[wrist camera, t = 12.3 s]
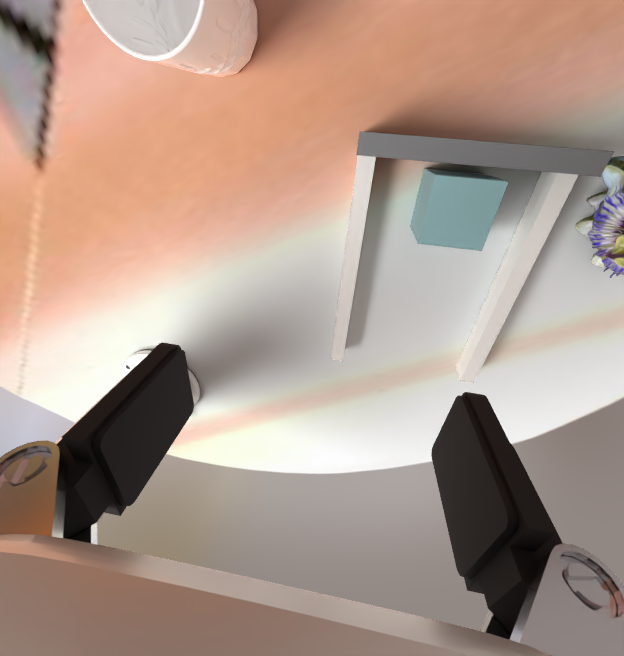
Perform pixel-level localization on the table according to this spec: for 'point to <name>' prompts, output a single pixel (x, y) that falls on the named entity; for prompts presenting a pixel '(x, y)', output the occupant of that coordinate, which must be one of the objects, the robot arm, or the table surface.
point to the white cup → (182, 31)
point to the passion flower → (608, 219)
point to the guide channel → (525, 244)
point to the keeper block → (456, 208)
